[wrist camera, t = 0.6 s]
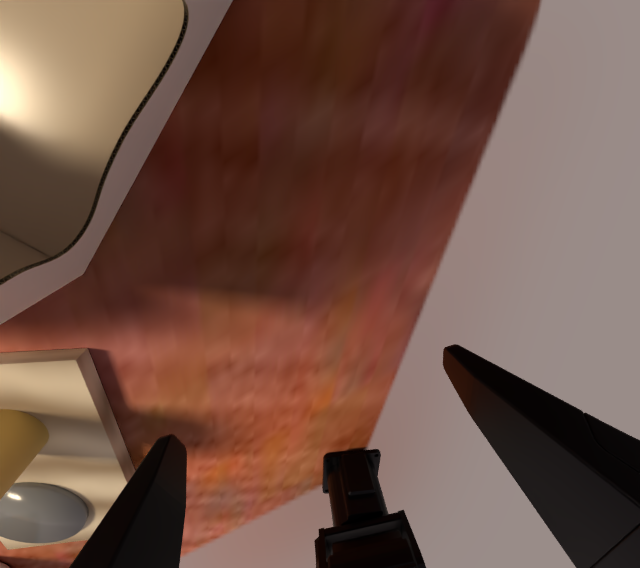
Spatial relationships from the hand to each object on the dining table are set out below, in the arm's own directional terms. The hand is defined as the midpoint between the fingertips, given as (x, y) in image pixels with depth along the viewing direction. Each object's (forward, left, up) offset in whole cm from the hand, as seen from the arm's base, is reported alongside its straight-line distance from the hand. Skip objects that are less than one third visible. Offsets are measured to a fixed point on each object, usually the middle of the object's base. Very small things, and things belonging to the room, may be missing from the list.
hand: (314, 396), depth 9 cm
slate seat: (-26, +26, -13) cm, 39 cm away
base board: (-20, +24, -14) cm, 34 cm away
